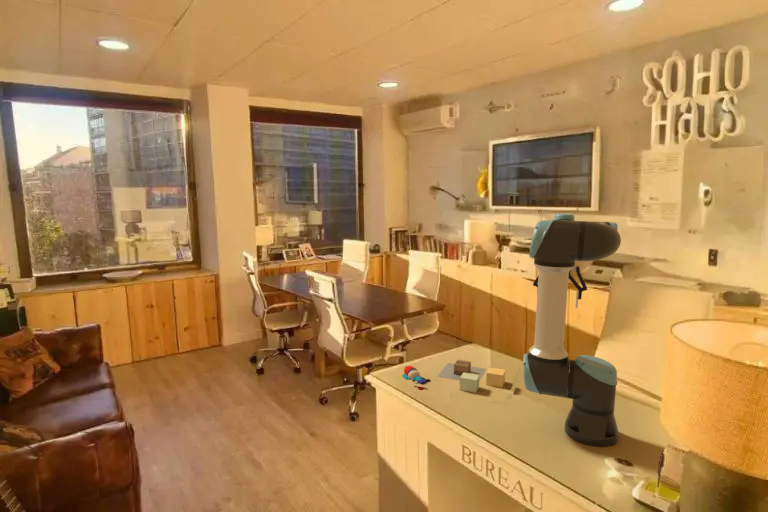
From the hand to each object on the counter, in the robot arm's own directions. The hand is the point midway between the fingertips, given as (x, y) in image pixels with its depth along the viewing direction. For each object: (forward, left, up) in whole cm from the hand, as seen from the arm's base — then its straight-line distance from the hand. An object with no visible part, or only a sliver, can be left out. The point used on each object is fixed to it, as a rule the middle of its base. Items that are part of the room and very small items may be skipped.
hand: (558, 305), depth 193 cm
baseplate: (-20, +33, -28) cm, 48 cm away
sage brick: (-34, +27, -28) cm, 52 cm away
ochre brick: (-25, +19, -28) cm, 42 cm away
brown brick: (-20, +33, -27) cm, 47 cm away
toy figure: (-33, +48, -28) cm, 65 cm away
